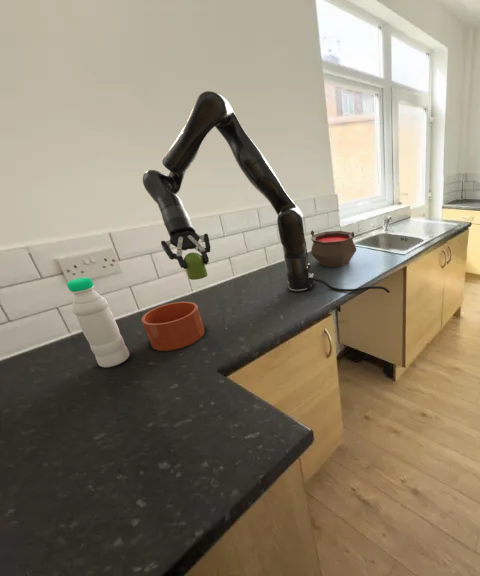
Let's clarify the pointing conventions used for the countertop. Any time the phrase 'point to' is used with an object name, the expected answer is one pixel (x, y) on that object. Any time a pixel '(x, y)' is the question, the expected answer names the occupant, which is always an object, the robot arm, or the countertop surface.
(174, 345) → the pot
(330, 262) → the brown cauldron
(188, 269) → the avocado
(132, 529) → the countertop surface
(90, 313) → the water bottle
